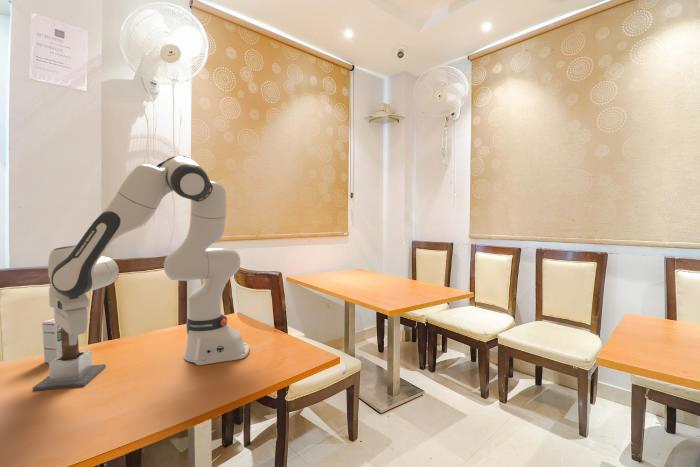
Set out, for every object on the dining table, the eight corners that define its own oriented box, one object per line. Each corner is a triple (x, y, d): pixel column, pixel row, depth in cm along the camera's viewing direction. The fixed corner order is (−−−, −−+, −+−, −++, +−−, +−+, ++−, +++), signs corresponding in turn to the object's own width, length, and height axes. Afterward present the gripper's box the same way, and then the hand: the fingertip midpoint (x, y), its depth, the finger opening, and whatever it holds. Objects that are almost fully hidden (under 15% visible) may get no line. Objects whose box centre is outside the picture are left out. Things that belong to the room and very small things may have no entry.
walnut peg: (81, 357, 106) (80, 326, 106) (67, 362, 103) (65, 330, 102) (74, 355, 108) (72, 324, 107) (59, 360, 104) (57, 328, 104)
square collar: (105, 367, 114) (104, 346, 113) (84, 386, 101) (83, 363, 101) (60, 370, 111) (59, 349, 111) (32, 390, 98) (31, 367, 98)
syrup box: (57, 364, 116) (55, 322, 115) (43, 362, 117) (41, 321, 116) (74, 357, 121) (72, 317, 121) (60, 355, 123) (59, 316, 122)
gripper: (47, 294, 108) (48, 337, 109) (64, 306, 96) (65, 354, 96) (72, 291, 113) (73, 332, 114) (91, 302, 101) (92, 347, 101)
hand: (70, 342), depth 105 cm, fingers closed on walnut peg, 4 cm apart
